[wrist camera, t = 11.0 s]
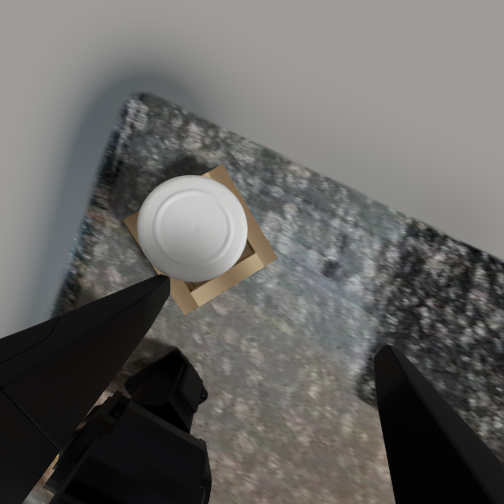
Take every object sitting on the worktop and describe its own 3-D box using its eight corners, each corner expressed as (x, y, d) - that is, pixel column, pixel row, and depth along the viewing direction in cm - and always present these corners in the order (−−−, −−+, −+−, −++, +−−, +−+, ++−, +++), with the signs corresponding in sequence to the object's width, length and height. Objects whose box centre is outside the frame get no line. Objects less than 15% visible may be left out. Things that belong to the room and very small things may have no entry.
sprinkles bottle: (227, 222, 22) (255, 182, 9) (223, 264, 22) (244, 288, 9) (182, 216, 21) (139, 161, 8) (178, 260, 21) (126, 279, 8)
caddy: (191, 309, 23) (182, 323, 19) (135, 222, 22) (114, 217, 18) (275, 257, 24) (284, 260, 20) (225, 171, 23) (224, 156, 19)
